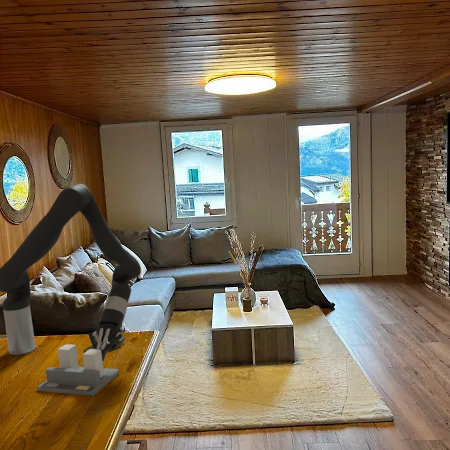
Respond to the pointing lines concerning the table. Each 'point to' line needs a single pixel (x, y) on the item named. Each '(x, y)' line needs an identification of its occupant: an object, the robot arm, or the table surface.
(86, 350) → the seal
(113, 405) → the table surface
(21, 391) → the table surface
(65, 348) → the white rectangular block
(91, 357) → the tall white pillar block
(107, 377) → the plate
